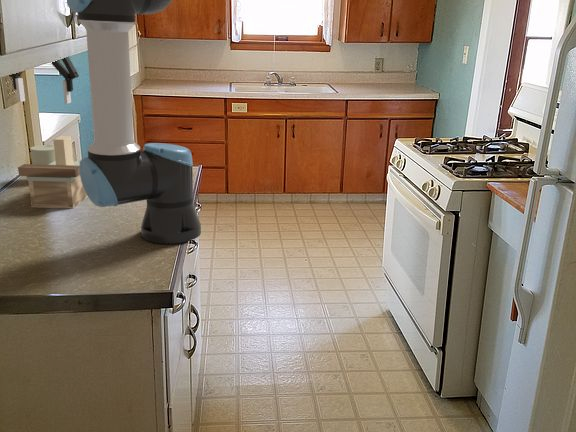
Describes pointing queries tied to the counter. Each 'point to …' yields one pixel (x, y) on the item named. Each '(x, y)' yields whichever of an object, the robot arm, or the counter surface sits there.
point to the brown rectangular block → (49, 170)
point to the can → (43, 154)
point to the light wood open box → (57, 193)
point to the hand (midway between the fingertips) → (44, 102)
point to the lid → (60, 159)
